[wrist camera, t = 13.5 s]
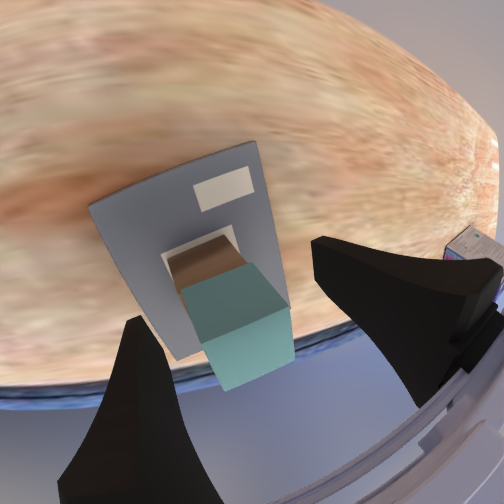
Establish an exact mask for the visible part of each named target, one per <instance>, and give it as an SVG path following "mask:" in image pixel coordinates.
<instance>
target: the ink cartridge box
mask: <svg viewBox="0 0 504 504" xmlns="http://www.w3.org/2000/svg"><path fill="white" fill-rule="evenodd" d="M479 258H490V259H492V260H493V261H495V262H497V263H498V264H500V265H501V266H503V269H504V246H503V245H502V244H500V243H498V242H497V241H495V240H494V239H492V238H490V237H489V236H487V235H485V234H484V233H482V232H480V231H479V230H477V229H475V228H474V227H472V226H469V227H468V228H467V229H466V230H465V231H464V232H462V233H461V234H460V235H459V236H458V237H457V238H455V239H454V240H453V241H452V242H451V243H450V244H448V245H447V246H446V250H445V255H444V259H443V260H468V259H479ZM503 290H504V273H503V277H502V280H501V283H500V286H499V288H498V291H497V293H496V296H495V298H494V300H493V302H496V300H497V299H498V297H499V296H500V294H501V293H502V291H503Z"/></svg>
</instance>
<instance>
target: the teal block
mask: <svg viewBox="0 0 504 504" xmlns="http://www.w3.org/2000/svg"><path fill="white" fill-rule="evenodd" d="M181 292H182V295H183V298H184V301H185V304H186V307H187V309H188V312H189V315H190V318H191V320H192V323H193V326H194V328H195V331H196V334H197V336H198V339H199V341H200V344H201V346H202V348H203V350H204V352H205V354H206V356H207V358H208V360H209V362H210V364H211V366H212V368H213V370H214V372H215V374H216V376H217V378H218V380H219V382H220V384H221V386H222V388H223V389H224V391H228V390H230V389H232V388H235V387H237V386H239V385H242V384H244V383H246V382H249V381H251V380H253V379H256V378H258V377H260V376H262V375H264V374H267V373H269V372H271V371H273V370H275V369H277V368H279V367H281V366H283V365H285V364H288V363H290V362H292V361H294V360H295V352H294V343H293V334H292V325H291V316H290V307H289V305H288V304H287V303H286V302H285V300H284V299H283V298H282V297H281V296H280V294H279V293H278V292H277V291H276V290H275V289H274V287H273V286H272V285H271V284H270V283H269V281H268V280H267V279H266V278H265V277H264V276H263V274H262V273H261V272H260V271H259V270H258V268H257V267H256V266H255V265H254V264H253V263H252V262H251V263H248V264H245V265H243V266H240V267H238V268H235V269H233V270H230V271H228V272H225V273H222V274H220V275H217V276H215V277H212V278H210V279H207V280H204V281H202V282H199V283H197V284H194V285H191V286H189V287H186V288H184V289H181Z"/></svg>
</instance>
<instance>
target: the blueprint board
mask: <svg viewBox="0 0 504 504" xmlns="http://www.w3.org/2000/svg"><path fill="white" fill-rule="evenodd" d="M87 208H88V210H89V212H90V214H91V216H92V219H93V221H94V223H95V225H96V227H97V229H98V231H99V233H100V235H101V237H102V239H103V241H104V243H105V245H106V247H107V249H108V251H109V253H110V255H111V256H112V258H113V260H114V262H115V264H116V266H117V267H118V269H119V271H120V273H121V275H122V276H123V278H124V280H125V282H126V283H127V285H128V287H129V289H130V290H131V292H132V294H133V295H134V297H135V299H136V300H137V302H138V304H139V305H140V307H141V308H142V310H143V312H144V313H145V315H146V316H147V318H148V319H149V321H150V323H151V324H152V326H153V327H154V329H155V330H156V332H157V333H158V335H159V336H160V338H161V339H162V341H163V342H164V344H165V345H166V346H167V348H168V349H169V351H170V352H171V354H172V355H173V356H174V358H175V359H176V360H177V361H178V360H181V359H183V358H186V357H188V356H190V355H193V354H195V353H197V352H200V351H202V350H203V348H202V346H201V344H200V341H199V339H198V336H197V334H196V331H195V328H194V326H193V323H192V321H191V319H190V317H189V315H188V313H187V312H186V310H185V308H184V306H183V304H182V302H181V300H180V298H179V296H178V294H177V291H176V288H175V285H174V281H173V278H172V275H171V272H170V268H169V265H168V262H167V258H170V257H172V256H174V255H177V254H179V253H181V252H184V251H186V250H188V249H191V248H193V247H195V246H198V245H200V244H202V243H205V242H207V241H209V240H212V239H214V238H217V237H219V236H221V235H225V236H226V237H227V238H228V240H229V241H230V242H231V243H232V245H233V246H234V247H235V248H236V250H237V251H238V252H239V253H240V255H241V256H242V257H243V258H244V260H245V261H246V262H247V263H251V262H252V263H253V264H254V265H255V266H256V267H257V268H258V270H259V271H260V272H261V273H262V274H263V276H264V277H265V278H266V279H267V280H268V281H269V283H270V284H271V285H272V286H273V287H274V289H275V290H276V291H277V292H278V293H279V294H280V296H281V297H282V298H283V299H284V300H285V302H286V303H287V304H288V305H289V307H290V301H289V296H288V291H287V285H286V280H285V275H284V270H283V265H282V260H281V255H280V250H279V245H278V240H277V235H276V230H275V225H274V221H273V216H272V211H271V206H270V202H269V197H268V192H267V188H266V183H265V179H264V174H263V170H262V165H261V161H260V156H259V152H258V148H257V143H256V141H250V142H246V143H243V144H240V145H237V146H234V147H230V148H227V149H224V150H221V151H218V152H215V153H212V154H209V155H206V156H203V157H201V158H198V159H195V160H192V161H189V162H187V163H184V164H181V165H179V166H176V167H173V168H171V169H168V170H166V171H163V172H161V173H158V174H156V175H153V176H151V177H148V178H146V179H144V180H141V181H139V182H137V183H134V184H132V185H130V186H127V187H125V188H123V189H121V190H119V191H116V192H114V193H112V194H110V195H108V196H106V197H103V198H101V199H99V200H97V201H95V202H93V203H91V204H89V205H88V207H87ZM290 309H291V307H290Z"/></svg>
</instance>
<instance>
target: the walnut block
mask: <svg viewBox="0 0 504 504" xmlns="http://www.w3.org/2000/svg"><path fill="white" fill-rule="evenodd" d="M167 262H168V265H169V268H170V272H171V275H172V278H173V281H174V285H175V288H176V291H177V294H178V296H179V298H180V300H181V302H182V304H183V306H184V308H185V310H186V312H187V313H188V315H189V312H188V309H187V307H186V304H185V301H184V298H183V295H182V292H181V289H184V288H186V287H189V286H191V285H194V284H197V283H199V282H202V281H204V280H207V279H210V278H212V277H215V276H217V275H220V274H222V273H225V272H228V271H230V270H233V269H235V268H238V267H240V266H243V265H245V264H248V263H247V262H246V261H245V260H244V258H243V257H242V256H241V255H240V253H239V252H238V251H237V250H236V248H235V247H234V246H233V245H232V243H231V242H230V241H229V240H228V238H227V237H226V236H225V235H221V236H219V237H217V238H214V239H212V240H209V241H207V242H205V243H202V244H200V245H198V246H195V247H193V248H191V249H188V250H186V251H184V252H181V253H179V254H177V255H174V256H172V257H170V258H167ZM189 317H190V315H189ZM190 319H191V318H190ZM191 321H192V320H191Z"/></svg>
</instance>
